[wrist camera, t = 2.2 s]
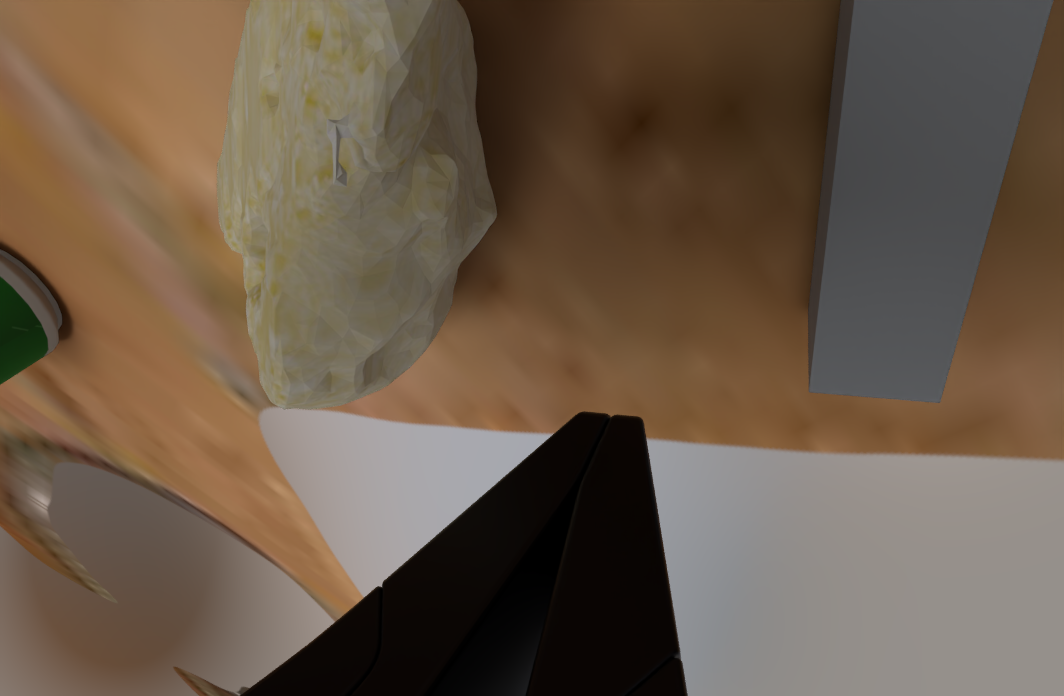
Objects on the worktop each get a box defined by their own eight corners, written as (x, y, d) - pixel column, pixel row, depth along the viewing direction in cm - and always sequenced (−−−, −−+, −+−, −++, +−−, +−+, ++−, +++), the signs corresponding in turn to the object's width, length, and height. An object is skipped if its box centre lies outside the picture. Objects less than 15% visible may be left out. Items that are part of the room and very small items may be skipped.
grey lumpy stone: (392, 308, 28) (568, 501, 17) (219, 315, 25) (296, 569, 13) (423, -72, 22) (723, -165, 11) (201, -143, 19) (315, -396, 7)
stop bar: (1024, -153, 12) (1098, -160, 9) (917, 315, 18) (940, 402, 15) (852, -119, 13) (867, -115, 10) (808, 311, 19) (808, 392, 16)
